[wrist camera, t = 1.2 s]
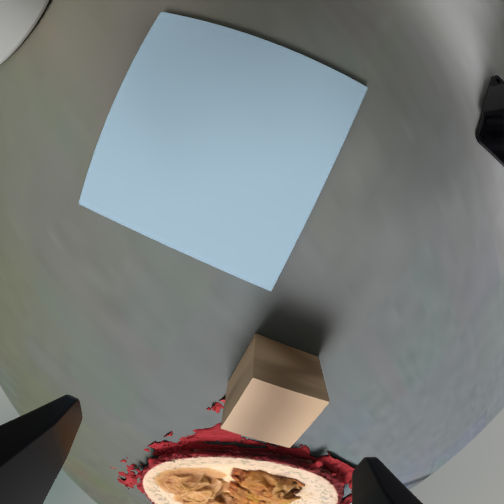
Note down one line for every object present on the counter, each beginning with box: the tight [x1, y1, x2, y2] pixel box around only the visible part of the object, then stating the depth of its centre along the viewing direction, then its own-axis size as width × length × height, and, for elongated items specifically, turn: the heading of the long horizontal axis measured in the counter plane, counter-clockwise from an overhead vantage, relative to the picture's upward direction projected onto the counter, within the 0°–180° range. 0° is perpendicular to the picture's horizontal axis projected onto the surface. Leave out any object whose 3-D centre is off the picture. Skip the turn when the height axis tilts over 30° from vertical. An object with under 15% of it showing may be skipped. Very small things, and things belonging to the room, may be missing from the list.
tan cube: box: [221, 333, 330, 448], centre depth 19 cm, size 5×5×5 cm
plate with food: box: [111, 400, 354, 504], centre depth 26 cm, size 25×26×4 cm
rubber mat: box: [79, 12, 368, 291], centre depth 17 cm, size 14×14×1 cm
